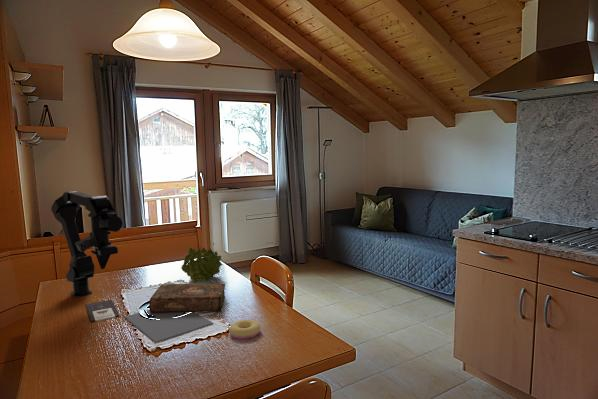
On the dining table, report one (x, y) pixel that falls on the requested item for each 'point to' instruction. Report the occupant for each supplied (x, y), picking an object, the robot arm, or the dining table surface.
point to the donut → (244, 329)
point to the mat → (167, 324)
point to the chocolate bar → (101, 310)
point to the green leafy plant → (201, 264)
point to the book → (187, 298)
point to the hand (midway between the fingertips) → (102, 268)
